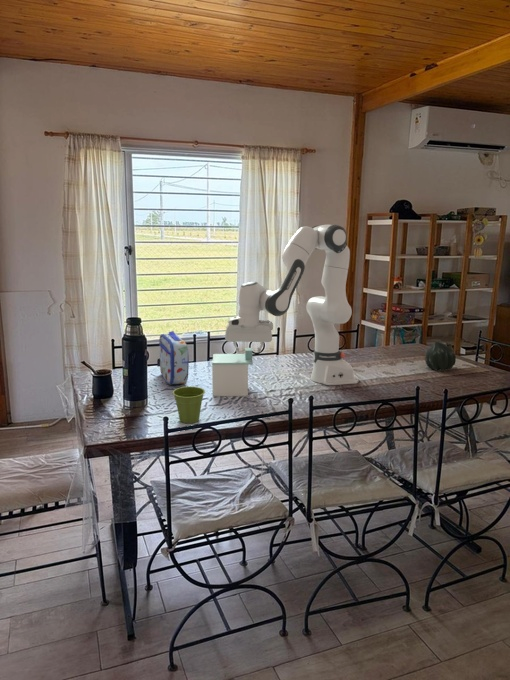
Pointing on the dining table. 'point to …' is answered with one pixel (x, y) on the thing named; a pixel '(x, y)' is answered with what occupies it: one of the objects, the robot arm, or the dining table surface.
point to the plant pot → (189, 403)
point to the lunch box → (173, 359)
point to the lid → (233, 358)
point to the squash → (440, 357)
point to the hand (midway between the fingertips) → (248, 351)
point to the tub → (230, 380)
